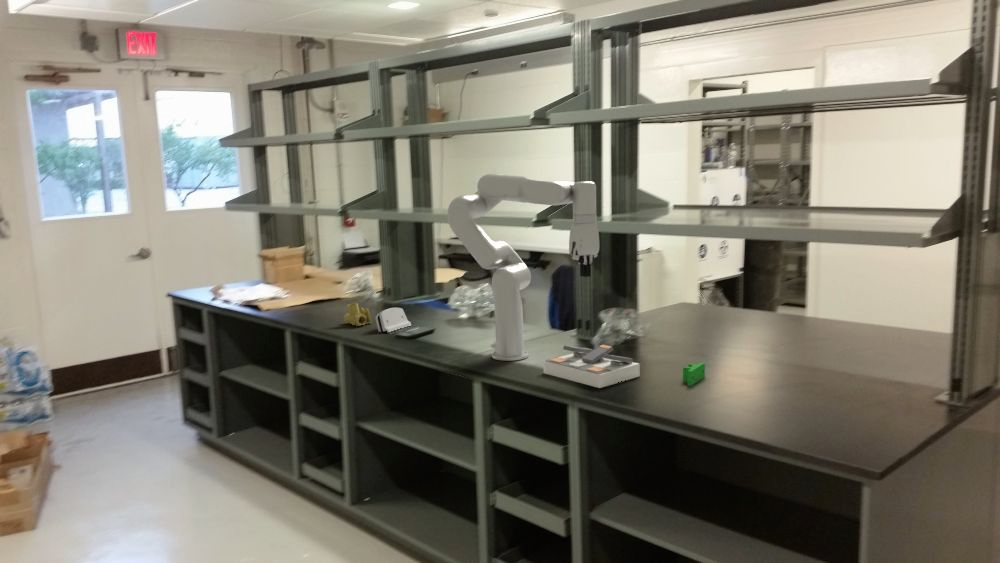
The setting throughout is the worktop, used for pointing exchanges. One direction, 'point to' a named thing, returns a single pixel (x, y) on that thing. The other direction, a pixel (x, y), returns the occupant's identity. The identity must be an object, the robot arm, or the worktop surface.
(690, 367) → the pipe clamp
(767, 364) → the worktop surface
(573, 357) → the switch unit
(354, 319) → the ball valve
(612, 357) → the rocker
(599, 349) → the rocker
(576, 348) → the block
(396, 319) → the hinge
